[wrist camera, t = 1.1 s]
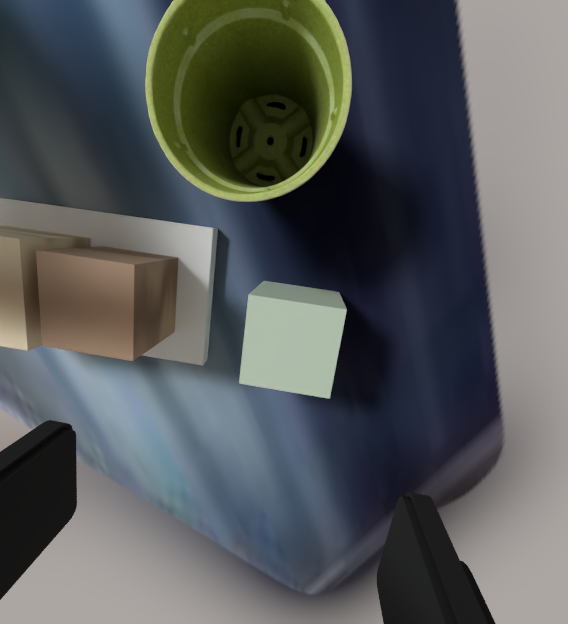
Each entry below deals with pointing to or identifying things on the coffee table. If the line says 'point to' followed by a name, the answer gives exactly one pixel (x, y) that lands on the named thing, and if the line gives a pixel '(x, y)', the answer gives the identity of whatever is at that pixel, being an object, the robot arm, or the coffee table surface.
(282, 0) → the plant pot
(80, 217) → the board
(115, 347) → the walnut cube
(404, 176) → the coffee table surface
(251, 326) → the sage block
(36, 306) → the maple base
